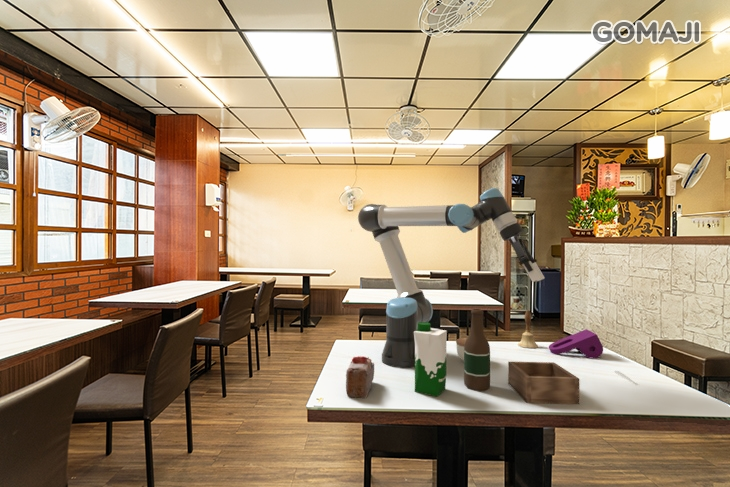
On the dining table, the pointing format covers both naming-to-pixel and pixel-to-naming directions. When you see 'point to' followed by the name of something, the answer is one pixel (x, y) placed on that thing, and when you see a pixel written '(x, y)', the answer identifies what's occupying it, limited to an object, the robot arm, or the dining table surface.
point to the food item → (359, 377)
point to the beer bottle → (477, 355)
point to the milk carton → (430, 359)
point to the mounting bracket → (579, 344)
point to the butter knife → (625, 377)
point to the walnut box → (543, 382)
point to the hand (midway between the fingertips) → (539, 280)
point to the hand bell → (527, 334)
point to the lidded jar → (461, 347)
